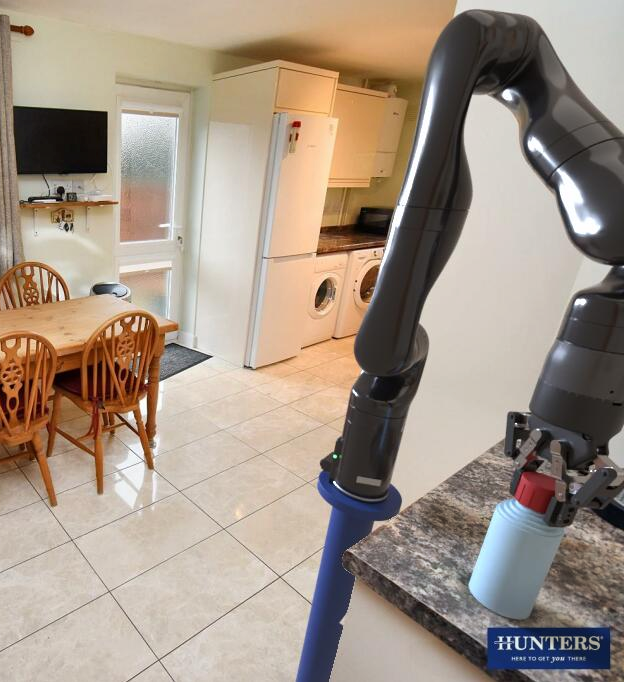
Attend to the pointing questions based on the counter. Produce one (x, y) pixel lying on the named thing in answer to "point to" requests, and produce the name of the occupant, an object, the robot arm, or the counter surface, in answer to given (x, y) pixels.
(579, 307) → the robot arm
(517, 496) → the cap
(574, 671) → the counter surface
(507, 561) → the bottle
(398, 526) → the counter surface
